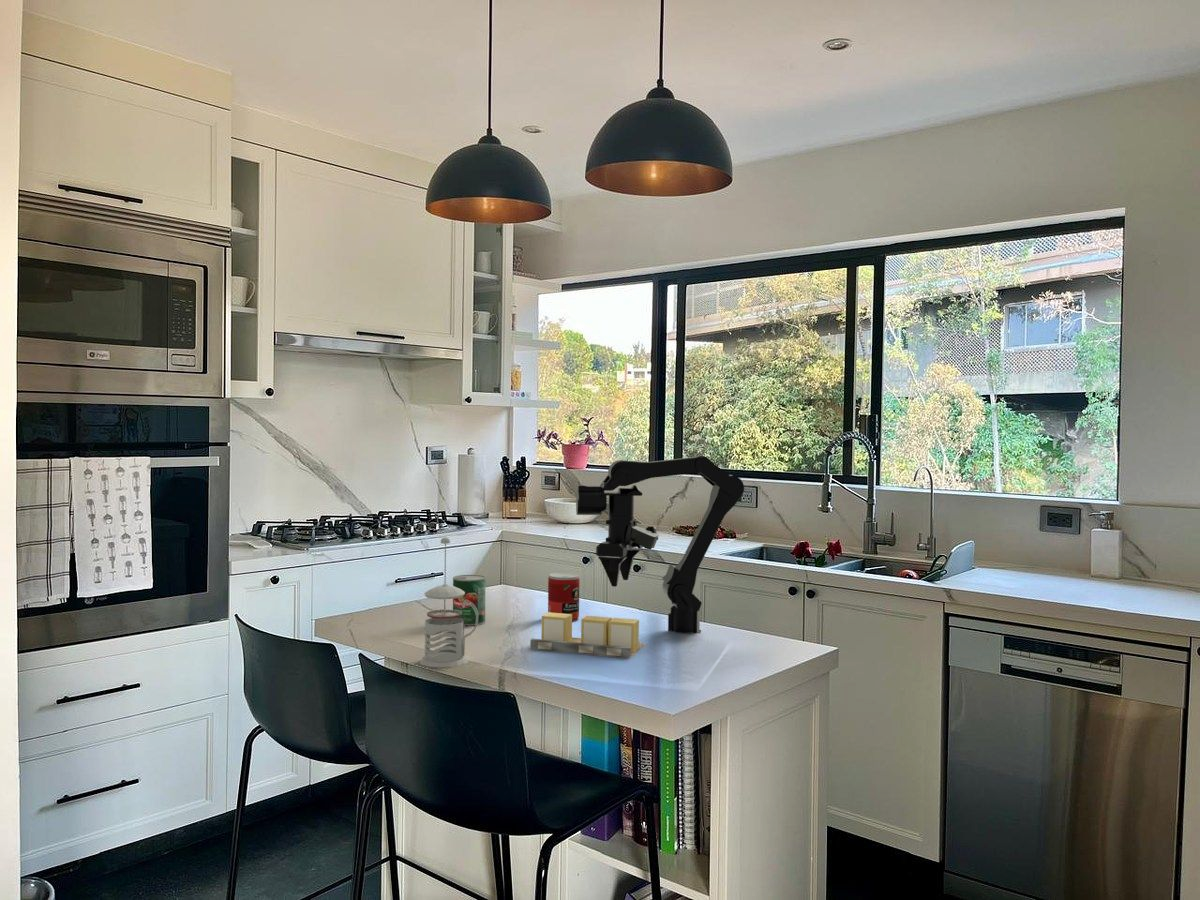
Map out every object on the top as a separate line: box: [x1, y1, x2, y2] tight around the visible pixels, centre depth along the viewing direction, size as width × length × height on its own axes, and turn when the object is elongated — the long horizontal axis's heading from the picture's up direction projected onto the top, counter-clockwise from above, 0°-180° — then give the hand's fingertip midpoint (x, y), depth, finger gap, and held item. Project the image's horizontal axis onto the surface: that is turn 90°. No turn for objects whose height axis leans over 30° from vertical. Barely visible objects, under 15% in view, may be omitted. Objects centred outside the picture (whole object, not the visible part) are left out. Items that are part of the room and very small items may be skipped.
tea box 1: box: [580, 615, 613, 645], centre depth 188 cm, size 6×4×6 cm
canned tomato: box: [452, 574, 487, 626], centre depth 214 cm, size 8×8×11 cm
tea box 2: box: [608, 617, 640, 652], centre depth 186 cm, size 6×4×6 cm
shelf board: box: [529, 636, 646, 660], centre depth 188 cm, size 22×13×3 cm, turn 73°
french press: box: [419, 537, 478, 668], centre depth 178 cm, size 10×12×25 cm
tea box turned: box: [541, 611, 573, 642], centre depth 191 cm, size 6×4×6 cm
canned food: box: [547, 571, 581, 622], centre depth 220 cm, size 8×8×11 cm
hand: (620, 583), depth 203 cm, fingers open, 9 cm apart
